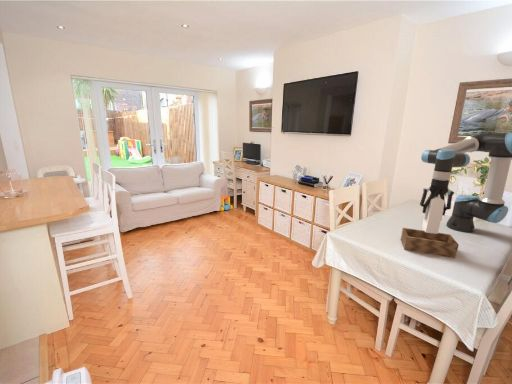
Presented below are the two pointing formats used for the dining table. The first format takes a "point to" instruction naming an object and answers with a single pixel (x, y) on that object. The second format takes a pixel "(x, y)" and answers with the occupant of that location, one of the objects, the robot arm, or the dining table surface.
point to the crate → (429, 243)
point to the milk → (433, 215)
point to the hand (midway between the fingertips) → (432, 219)
